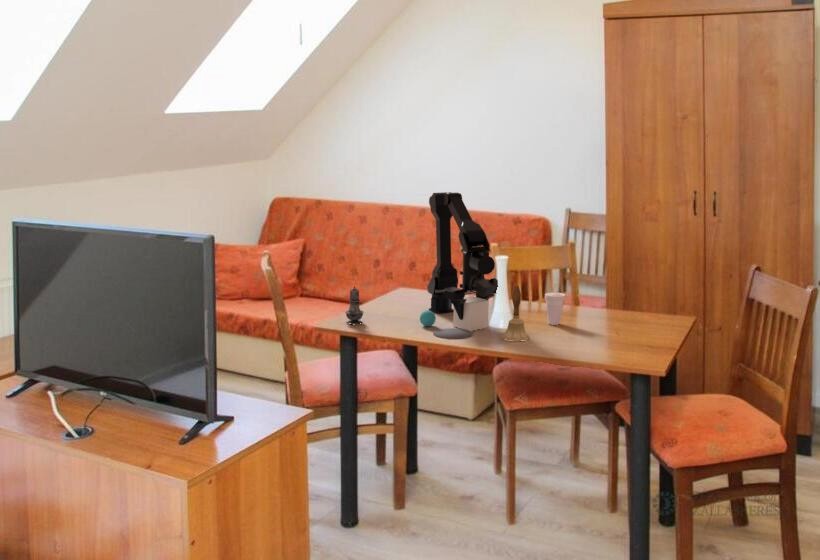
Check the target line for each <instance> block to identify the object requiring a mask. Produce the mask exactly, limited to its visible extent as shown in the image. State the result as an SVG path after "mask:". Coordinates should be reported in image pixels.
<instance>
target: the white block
mask: <svg viewBox="0 0 820 560" xmlns="http://www.w3.org/2000/svg"><path fill="white" fill-rule="evenodd" d="M464 299H466V302H465V303H464V312H463V320H460V319H459V317H458V314H457V312H456V310H455V308H454V307H453V309H454V311H453V315H452V316H453V320H452V322H453V323H452V324H453V326H454V327H453V328H456V327H457V328H456V329H460V328H461V329H464V330H468V331H470V332H474V331H473V330H475V331H478V330H477V329H480V330H483V329H482V328H485V329H487V328H486V327H488V328H489V305H490V303H489V302H490V299H489V300H486V299H482V298H478V297H476V296H473V295H469V296H465V297H464Z"/></svg>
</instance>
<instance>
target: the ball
mask: <svg viewBox="0 0 820 560" xmlns="http://www.w3.org/2000/svg"><path fill="white" fill-rule="evenodd" d="M436 320H437V318H436V315H435V312H433V311H430V310H429V309H428V310H424V311H422V312H421V313H420V316H419V321H420V324H421V325H423V326H424V327H432V326H433V325H434V324H435V323H436Z"/></svg>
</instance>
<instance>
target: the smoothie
mask: <svg viewBox="0 0 820 560" xmlns="http://www.w3.org/2000/svg"><path fill="white" fill-rule="evenodd" d="M554 283H555V284H554V291H553V292H546V293H545V294H544V298H545V304H546V313H547V314H546V315H547V324H548V323H549V324H553V325H556V324H560V325H561V319H562V313H563V307H564V300H565V299H566V295H565V293H561V292H557V291H558V290H557V289H558V288H557V287H558V280H555V282H554ZM549 324H548V325H549ZM553 325H552V326H553Z"/></svg>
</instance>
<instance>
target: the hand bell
mask: <svg viewBox="0 0 820 560" xmlns="http://www.w3.org/2000/svg"><path fill="white" fill-rule="evenodd" d="M513 287H514V288H513V291H512V294H511V298H512V305H513V314H512V315H513V318H512V319H509V320H508V325H507V329H506V331H505V333H504V334H502V336H501V338H503V339H502V340H504V339H507V340H513V341H521V340H527V339H529V338H530V335H529V334H528V333H527V332H526V329H525V324H524V322H525V321H524V320H523V319H521V318H520V306H521V305H520V304H521V301H522V294H521V290H520V286H519V285H514V286H513ZM507 340H506V341H507ZM529 340H530V339H529ZM513 341H512V342H513ZM527 341H528V340H527Z"/></svg>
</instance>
